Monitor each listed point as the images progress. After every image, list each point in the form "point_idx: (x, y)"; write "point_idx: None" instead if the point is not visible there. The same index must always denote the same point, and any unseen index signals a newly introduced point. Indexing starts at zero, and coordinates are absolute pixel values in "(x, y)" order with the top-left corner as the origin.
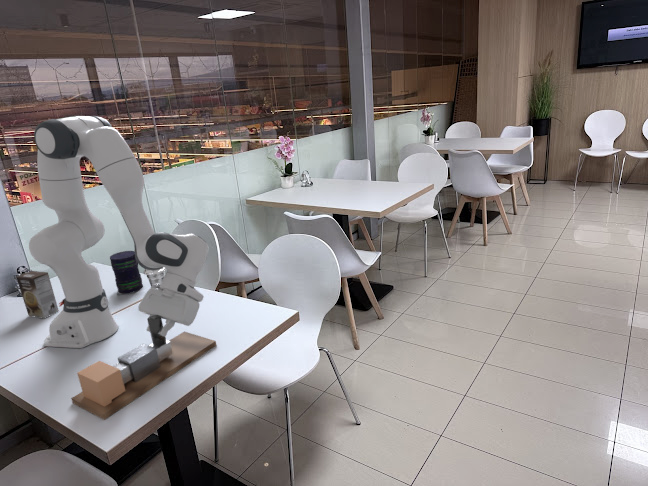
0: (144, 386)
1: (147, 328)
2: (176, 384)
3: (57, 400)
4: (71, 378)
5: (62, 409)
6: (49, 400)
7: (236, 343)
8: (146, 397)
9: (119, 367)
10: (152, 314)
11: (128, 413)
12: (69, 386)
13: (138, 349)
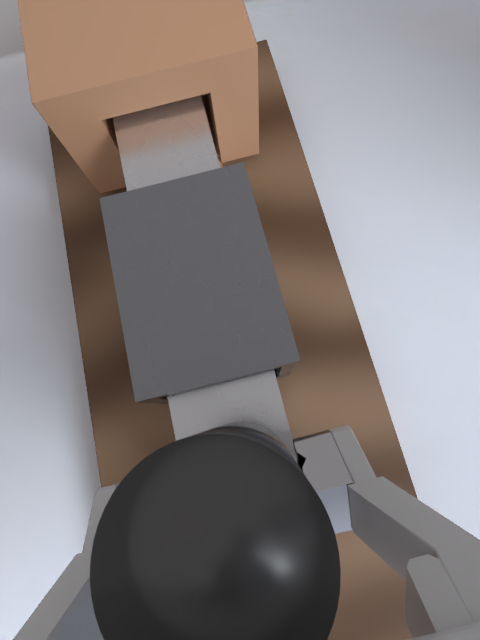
0: (76, 273)
1: (344, 437)
2: (13, 404)
3: (336, 28)
4: (476, 94)
5: (255, 30)
6: (361, 9)
7: None
8: (46, 268)
9: (161, 158)
10: (452, 631)
11: (14, 183)
12: (410, 76)
13: (237, 300)
